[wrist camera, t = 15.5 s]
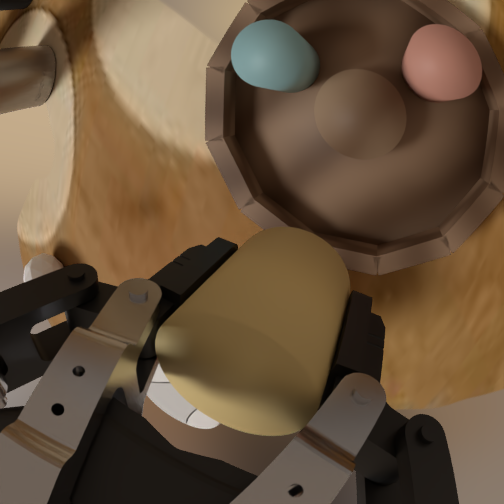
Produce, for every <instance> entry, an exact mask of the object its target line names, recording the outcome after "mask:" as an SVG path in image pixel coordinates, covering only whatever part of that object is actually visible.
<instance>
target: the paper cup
mask: <svg viewBox="0 0 504 504" xmlns="http://www.w3.org/2000/svg"><path fill="white" fill-rule="evenodd" d="M146 395H147V396H148V397H149V398H150V399H151V400H152V401H153V402H154V403H155V404H156V405H157V406H158V407H160V408H161V409H162V410H163V411H165V412H166V413H167V414H169V415H170V416H172V417H173V418H175V419H177V420H179V421H181V422H183V423H185V424H187V425H190V426H193V427H197V428H202V429H210V428H214V427H216V426H218V425H219V424H220V423H219V422H217V421H215V420H213V419H212V418H210V417H208V416H207V415H205V414H203V413H202V412H200V411H199V410H198V409H196V408H195V407H194V406H192V405H191V404H190V403H189V402H188V401H186V400H185V399H184V398H183V397H182V396H181V395H180V394H179V393H178V392H177V390H176V389H175V388H174V387H173V386H172V384H171V383H170V382H169V380H168V379H167V377H166V376H165V374H164V372H163V371H162V369H161V367H160V364H158V366H157V369H156V371H155V374H154V376H153V379H152V381H151V384H150V386H149V389H148V391H147V394H146Z"/></svg>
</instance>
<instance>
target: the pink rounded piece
mask: <svg viewBox="0 0 504 504" xmlns="http://www.w3.org/2000/svg"><path fill="white" fill-rule="evenodd" d="M401 71H402V75H403V78H404V81H405V83H406V84H407V86H408V87H409V89H410V90H411V91H412V92H413V93H414V94H415V95H417V96H418V97H420V98H422V99H424V100H426V101H429V102H435V103H439V102H445V101H450V100H456V99H461V98H465V97H467V96H469V95H471V94H472V93H473V92H474V91H475V90H476V89H477V88H478V86H479V84H480V81H481V77H482V64H481V60H480V57H479V55H478V52H477V50H476V49H475V47H474V46H473V44H472V43H471V42H470V41H469V39H468V38H467V37H465V36H464V35H463V34H462V33H460V32H459V31H457V30H456V29H454V28H451V27H449V26H446V25H441V24H431V25H426V26H424V27H422V28H420V29H418V30H417V31H416V32H415V33H414V34H413V36H412V37H411V39H410V42H409V44H408V47H407V49H406V51H405V54H404V56H403V58H402V62H401Z"/></svg>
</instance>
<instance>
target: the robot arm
mask: <svg viewBox="0 0 504 504" xmlns="http://www.w3.org/2000/svg"><path fill="white" fill-rule="evenodd" d="M54 78H55V57H54V53H53V51H52V49H51V48H50V47H49V46H27V47H14V48H4V49H0V114H3V113H7V112H12V111H16V110H21V109H26V108H31V107H36V106H40V105H42V104H43V103H44V102H45V101H46V100H47V98H48V97H49V95H50V92H51V90H52V87H53V83H54ZM237 250H238V245H237V244H235V243H232V242H230V241H227V240H224V239H222V238H219V237H218V238H216V239H215V240H214V241H213V242H211V243H210V244H209V245H208V246H203V245H198V246H195V247H192V248H189V249H187V250H186V251H185V252H183V253H182V254H181V255H180V257H179V256H178V257H177V258H175V259H174V260H173V262H170V263H169V264H168V265H166V266H165V267H164V268H162V269H161V270H160V271H159V272H157V273H156V274H155V275H153V276H152V277H151V278H150V279H148V280H147V279H142V278H135V279H130V280H127V281H124V282H123V283H121V284H120V285H119V286H113V285H109V284H106V283H102V282H98V276H97V271H96V270H95V269H94V268H93V267H92V266H90V265H87V264H72V265H69V266H66V267H64V268H61V269H58V270H56V271H53V272H50V273H48V274H45V275H42V276H40V277H37V278H35V279H32V280H29V281H27V282H24V283H22V284H19V285H17V286H14V287H12V288H9V289H7V290H4V291H2V292H0V504H331V502H332V501H333V500H334V498H335V497H336V495H337V494H338V493H339V491H340V490H341V488H342V487H343V485H344V484H345V482H346V481H347V479H348V478H349V476H350V475H351V473H352V472H353V470H355V471H356V483H357V504H459V501H458V494H457V488H456V483H455V478H454V472H453V467H452V463H451V457H450V453H449V449H448V444H447V440H446V436H445V433H444V430H443V428H442V426H441V424H440V423H439V422H438V421H437V420H436V419H434V418H433V417H431V416H429V415H425V414H419V415H416V416H413V417H412V418H411V419H410V420H409V419H407V418H406V417H404V416H403V415H401V414H400V413H398V412H397V411H395V410H394V409H392V408H391V407H390V406H389V405H388V404H387V402H386V394H385V391H384V389H383V387H382V385H381V384H380V379H381V370H382V361H383V348H384V338H385V326H384V324H383V321H382V319H381V316H378V315H376V314H373V313H371V307H372V297H369V296H367V295H364V294H362V293H359V292H357V291H354V290H353V291H352V292H351V294H350V296H349V300H348V304H347V308H346V312H345V317H344V321H343V325H342V329H341V333H340V336H339V340H338V344H337V348H336V351H335V355H334V358H333V362H332V365H331V369H330V372H329V376H328V379H327V383H326V386H325V389H324V392H323V396H322V399H321V402H320V405H319V408H318V411H317V413H316V414H315V415H314V416H313V418H312V419H311V420H310V421H309V422H308V424H307V425H306V426H305V427H304V428H303V429H302V430H301V431H300V432H299V433H298V435H297V436H296V437H295V438H294V439H293V440H292V441H291V442H290V444H289V445H288V446H287V447H286V448H285V449H284V450H283V451H282V452H281V453H280V455H279V456H278V457H277V458H276V459H275V460H274V461H273V462H272V463H271V464H270V465H269V466H268V467H267V468H266V469H265V470H264V471H263V473H261V474H260V475H259V476H256V475H254V474H251V473H249V472H246V471H244V470H242V469H239V468H237V467H235V466H232V465H230V464H228V463H226V462H224V461H222V460H218V459H213V458H209V457H205V456H201V455H197V454H193V453H190V452H186V451H182V450H179V449H177V448H175V447H174V446H173V445H171V444H170V443H169V442H168V441H167V440H166V439H165V438H164V437H163V436H162V435H161V434H160V433H159V432H158V431H157V430H156V429H155V428H154V427H153V426H152V425H151V424H150V423H149V422H148V421H147V420H146V419H145V418H144V417H142V411H143V404H144V399H145V397H146V394H147V391H148V389H149V386H150V384H151V381H152V379H153V376H154V374H155V371H156V369H157V366H158V364H159V362H158V359H157V355H156V350H155V339H156V335H157V332H158V330H159V328H160V327H161V325H162V324H163V323H164V322H165V321H166V320H167V319H168V318H169V317H170V316H171V315H172V314H173V313H174V312H175V311H176V310H177V309H178V308H179V307H180V306H181V305H182V304H183V303H184V302H185V301H186V300H187V299H188V298H189V297H190V296H191V295H192V294H193V293H194V292H195V291H196V290H197V289H198V288H199V287H200V286H201V285H202V284H203V283H204V282H205V281H206V280H207V279H208V278H209V277H210V276H212V275H213V274H214V273H215V272H216V271H217V270H218V269H219V268H220V267H221V266H222V265H223V264H224V263H225V262H226V261H227V260H228V259H229V258H230V257H231V256H232V255H233V254H234V253H235V252H236V251H237ZM62 312H65V315H66V319H67V321H64V322H62V323H60V324H58V325H56V326H53V327H51V328H49V329H47V330H45V331H42V332H40V333H38V334H31V333H30V331H31V329H32V327H33V326H34V325H35V324H37V323H39V322H42V321H44V320H46V319H49V318H51V317H53V316H56V315H58V314H60V313H62ZM41 376H42V378H41V380H40V381H39V383H38V385H37V386H36V388H35V390H34V391H33V393H32V395H31V397H30V398H29V400H28V401H27V403H26V405H25V406H20V407H10V408H4V407H5V406H6V404H7V398H6V393H8V392H10V391H12V390H14V389H16V388H18V387H20V386H22V385H24V384H26V383H29V382H31V381H33V380H35V379H37V378H39V377H41Z"/></svg>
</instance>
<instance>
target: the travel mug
mask: <svg viewBox="0 0 504 504" xmlns="http://www.w3.org/2000/svg"><path fill="white" fill-rule="evenodd" d="M31 1H32V0H0V10H13V9H24V8H26V7H27V6H28V5H29V4H30V3H31Z"/></svg>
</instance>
